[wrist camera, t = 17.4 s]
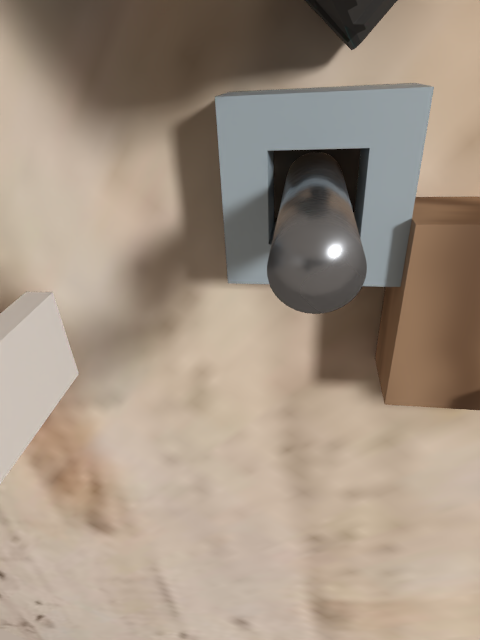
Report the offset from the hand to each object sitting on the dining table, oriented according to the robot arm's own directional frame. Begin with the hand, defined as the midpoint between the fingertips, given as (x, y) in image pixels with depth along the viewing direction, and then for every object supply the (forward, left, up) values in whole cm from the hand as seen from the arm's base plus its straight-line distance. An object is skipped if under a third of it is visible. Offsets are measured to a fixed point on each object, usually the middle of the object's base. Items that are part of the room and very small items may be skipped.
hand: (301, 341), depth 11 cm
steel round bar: (0, 0, -17) cm, 17 cm away
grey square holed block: (0, 0, -17) cm, 17 cm away
